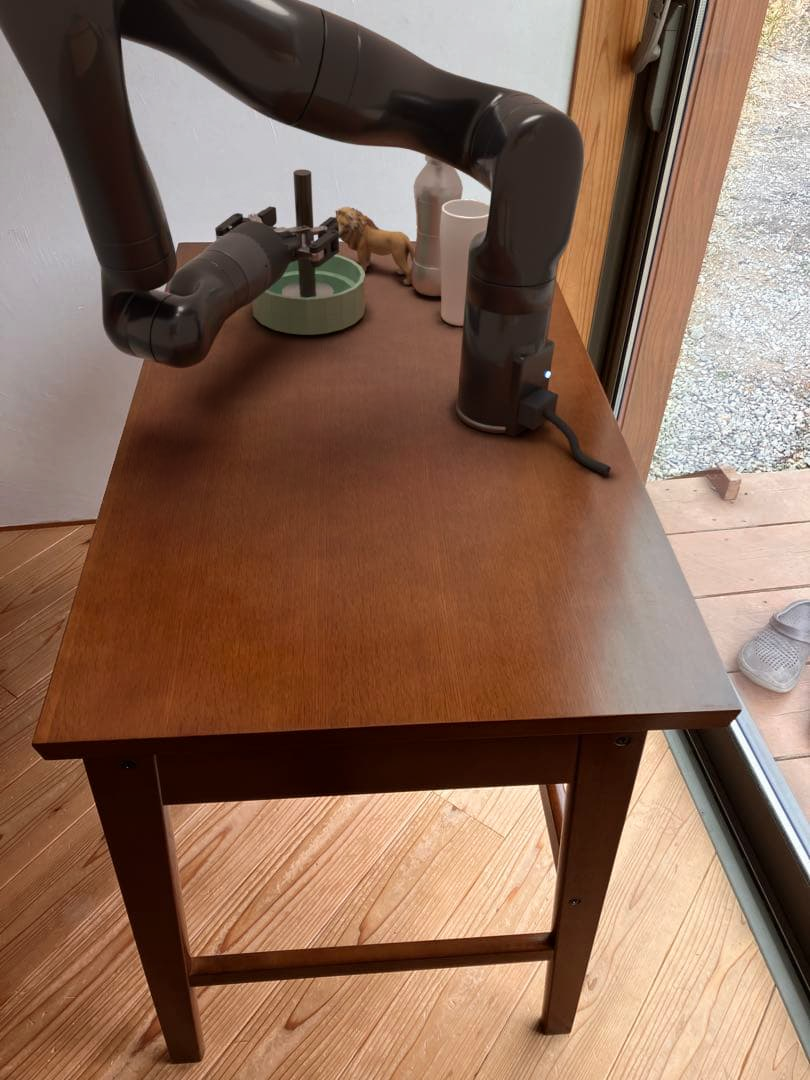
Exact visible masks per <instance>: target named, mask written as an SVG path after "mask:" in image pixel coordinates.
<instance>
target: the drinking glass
mask: <svg viewBox="0 0 810 1080" xmlns="http://www.w3.org/2000/svg"><path fill="white" fill-rule="evenodd" d="M489 208H490V203H487V202H485V201H482V200H477V199H471V198H469V199H468V198H466V199H465V198H461V199H458V200H452V201H449V202H446V203H445V204H444V205H443V206H442V210H441V219H440V273H441V296H440V299H441V300H440V303H441V304H440V317H441V318H442V320H443V321H444V322H445V323H447V324H449V325H452V326H458V327H463V321H464V308H465V295H466V283H467V270H468V255H469V246H470V243H471V240H472V239H473V237H474V236H475V235H477V234H478V233H480V232H482V231H484V230H486V229H487V222H488V215H489Z"/></svg>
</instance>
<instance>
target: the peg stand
mask: <svg viewBox="0 0 810 1080" xmlns="http://www.w3.org/2000/svg"><path fill="white" fill-rule="evenodd" d="M292 175H293V190H294V191H293V192H294V211H295V227H297V226H302V225H305V226H307V227H308V228H313V227H314V205H313V204H314V203H313V201H314V200H313V179H312V171H311V170H309V169H296V170H294V171H293V173H292ZM297 237H298V239H299V242H300V244H301V247H302V234H299V235H297ZM312 241H315V235H313V236H312ZM298 271H299V282H294V283H291V284H289V285H287V286H285V287H284V288H283V289H282V295H285V296H291V297H320V296H327V295H332V294H334V290H333V288H332V287H331V286H330V285H328V284H325V283H322V282H318V281H316V277H315V268H314V267H311V266H310V260H308V259H303V258H300V259H299V260H298Z"/></svg>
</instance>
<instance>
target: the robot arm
mask: <svg viewBox="0 0 810 1080" xmlns="http://www.w3.org/2000/svg"><path fill="white" fill-rule="evenodd" d="M0 32H1V33H2V35H3V36H4V39H5V40H6V42H7V44H8V46H9V48H10V50H11V52H12V54H13V55H14V57H15V59H16V61H17V64H19V66H20V68H21V70H22V72H23V74H24V76H25V77H26V79H27V81H28V83H29V85H30V87H31V89H32V91H33V92H34V94H35V97H36V98H37V100H38V102H39V105H40V107H41V108H42V110H43V113H44V115H45V117H46V119H47V122H48V124H49V126H50V129H51V130H52V132H53V135H54V137H55V140H56V142H57V145H58V147H59V149H60V152H61V155H62V157H63V160H64V163H65V166H66V169H67V172H68V175H69V178H70V181H71V184H72V188H73V190H74V194H75V197H76V201H77V203H78V206H79V210H80V213H81V216H82V219H83V221H84V225H85V228H86V231H87V234H88V237H89V239H90V242H91V246H92V248H93V251H94V253H95V256H96V259H97V261H98V264H99V267H100V268H99V269H100V287H101V291H100V292H101V311H102V312H101V318H102V319H101V320H102V326H103V331H104V333H105V335H106V337H107V339H108V341H109V342H110V343H111V344H112V345H113V346H114V347H115V348H116V349H117V350H118V351H120V352H121V353H123V354H125V355H127V356H130V357H135V358H137V359H142V360H146V361H148V362H153V363H157V364H160V365H164V366H166V367H170V368H175V369H187V368H191V367H193V366H196V365H198V364H200V363H202V362H203V361H204V360H205V359H206V358H207V356H208V355H209V353H210V351H211V349H212V347H213V345H214V342H215V340H216V338H217V336H218V335H219V333H220V332H221V329H222V328H223V326H224V324H225V322H226V320H229V318H230V317H231V316H233V315H234V314H235V313H237V312H238V311H240V309H242V308H243V307H246V306H248V305H249V304H251V302H252V301H254V300H255V299H256V298H257V297H259V296H260V295H261V294H262V293H264V292H265V291H266V290H267V289H269V288H270V287H271V286H272V285H273V284H275V283H276V282H277V281H278V280H279V279H281V277H282V276H283V275H284V273H285V271H286V269H287V267H288V265H289V263H291V262H294V261H297V260H299V259H300V258H303V259H308V260H310V266H311V267H314V268H316V267H319V266H321V265H322V264H324V263H325V262H326V261H328V260H329V259H330V258H332V257H333V256H334V255H338V253H340V238H339V222H337V218H335V217H336V216H329V217H328V218H327V219H325V221H323V222H322V223H320V224H319V225H318V226H313V228H308V227H307V226H305V225H302V226H297V227H296V226H292V227H284V226H281V227H277V226H276V224H277V222H278V221H277V220H278V216H277V208H276V206H271V205H270V206H268V207H267V208H265V209H262V210H260V211H259V212H258V213H251V214H248V216H247V217H244V215H243V214H242V213H239V212H237V213H233V214H232V215H230V216H229V217H228V218H227V219H225V220H224V221H223V222H221V223H220V224H218V225H217V226H216V227H215V228H214V231H215V241H213V242H211V243H210V244H209V245H207V247H206V248H205V249H204V250H203V251H202V252H201V253H199V254H198V255H197V256H195V257H193V258H192V259H191V260H189V261H188V262H186V263H185V264H183V265H182V266H181V267H180V268H179V269H177V267H178V258H177V253H176V247H175V243H174V241H173V237H172V236H173V235H172V233H171V228H170V224H169V222H168V217H167V214H166V210H165V207H164V206H165V205H164V203H163V200H162V196H161V193H160V189H159V187H158V184H157V181H156V179H155V175H154V173H153V170H152V168H151V166H150V163H149V160H148V158H147V156H146V153H145V151H144V148H143V146H142V143H141V140H140V137H139V134H138V132H137V127H136V124H135V121H134V118H133V113H132V108H131V104H130V99H129V94H128V89H127V83H126V73H125V66H124V65H125V63H124V55H123V46H122V45H123V44H122V40H125V41H128V42H132V43H135V44H138V45H140V46H143V47H147V48H150V49H152V50H155V51H157V52H160V53H162V54H164V55H166V56H169V57H170V58H173V59H175V60H177V61H178V62H180V63H182V64H184V65H186V66H187V67H188V68H190V69H192V70H193V71H195V72H196V73H197V74H199V75H200V76H202V77H204V78H205V79H206V80H208V81H209V82H210V83H213V85H215V86H216V87H218V88H219V89H221V90H222V91H224V92H225V93H227V94H228V95H230V96H231V97H232V98H234V99H235V100H238V101H239V102H241V103H242V104H244V105H245V106H247V107H248V108H251V109H252V110H253V111H255V112H256V113H259V114H260V115H262V116H265V117H266V118H268V119H271V120H272V121H274V122H278V123H279V124H282V125H284V126H288V127H291V128H293V129H295V130H300V131H303V132H306V133H309V134H312V135H314V136H317V137H320V138H324V139H325V140H326V139H327V140H330V141H334V142H337V143H342V144H346V145H347V144H348V145H355V146H363V147H374V148H376V147H378V148H394V149H404V150H409V151H412V152H416V153H419V154H422V155H424V156H425V155H427V156H429V157H432V158H434V159H436V160H439V161H441V162H443V163H445V164H447V165H449V166H451V167H454V168H455V170H457V171H460V172H461V173H463V174H465V175H467V176H469V177H471V178H472V179H473V180H475V181H476V182H477V183H479V184H480V185H481V186H483V187H484V188H485V189H486V190H488V191H489V192H490V201H489V205H490V208H489V215H488V222H487V229H486V230H484V231H482V232H480V233H478V234H477V235H475V236H474V237H473V239H472V240H471V243H470V246H469V255H468V270H467V283H466V295H465V308H464V321H463V326H462V333H461V334H462V335H461V349H460V358H459V359H460V361H459V373H458V387H457V399H456V405H455V413H456V415H457V416H458V418H459V419H460V420H461V421H462V422H463V423H464V424H466V425H468V426H469V427H471V428H474V429H476V430H479V431H482V432H487V433H492V434H505V435H508V436H510V437H516V436H518V435H519V434H520V433H522V432H523V431H525V430H526V429H528V428H529V429H531V430H534V431H535V429H537V428H539V427H540V426H541V425H543V424H544V423H546V422H547V421H549V423H551V424H552V425H554V426H555V428H557V429H558V430H559V431H560V432H561V433H562V434H563V435H564V436H565V438H566V440H567V441H568V444H569V448H570V451H571V454H572V455H573V457H574V458H575V459H576V460H577V461H578V462H579V463H580V464H582V465H583V466H585V467H587V468H588V469H591V470H593V471H596V472H599V473H601V474H603V475H604V476H607V475H609V473H610V472H611V468H612V467H611V466H610V465H608V464H606V463H603V462H601V461H598V460H596V459H594V458H591V457H589V456H588V455H587V454H585V452H583V450H582V448H581V445H580V441H579V439H578V437H577V434H576V433H575V432H574V430H573V429H572V427H571V426H570V425H569V424H568V423H566V421H564V420H563V419H562V418H561V417H560V416H558V415H557V414H556V412H557V411H556V409H557V403H558V397H559V394H558V393H557V392H555V391H552V390H549V383H550V377H551V370H552V364H553V357H554V352H555V351H554V350H555V342H554V341H553V340H551V339H550V338H549V332H550V331H549V330H550V325H551V324H550V323H551V317H552V311H553V310H552V309H553V303H554V296H555V289H556V282H557V275H558V270H559V269H558V268H559V264H560V260H561V258H562V257H563V255H564V253H565V251H566V250H567V248H568V246H569V243H570V239H571V236H572V232H573V226H574V222H575V217H576V211H577V206H578V202H579V196H580V192H581V191H580V190H581V185H582V180H583V173H584V165H585V145H584V139H583V135H582V133H581V130H580V128H579V126H578V124H577V123H576V122H575V121H574V119H572V117H570V116H569V115H568V114H566V113H565V112H563V111H562V110H559V108H557V107H555V106H553V105H551V104H550V103H548V102H546V101H544V100H543V99H541V98H539V97H537V96H535V95H533V94H531V93H528V92H524V91H520V90H517V89H512V88H507V87H503V86H499V85H496V84H491V83H487V82H484V81H483V82H482V81H479V80H476V79H472V78H469V77H465V76H462V75H459V74H455V73H452V72H450V71H448V70H444V69H442V68H440V67H437V66H435V65H433V64H431V63H430V62H429V61H428V62H427V61H426V60H424V59H423V58H421V57H420V56H418V55H416V53H413V52H412V51H410V50H408V49H407V48H405V47H403V46H402V45H400V44H398V43H396V42H394V41H393V40H391V39H389V38H387V37H385V36H384V35H381V34H380V33H377V32H375V31H373V30H372V29H370V28H367V27H366V26H364V25H362V24H359V23H357V22H355V21H352V20H351V19H348V18H346V17H343V16H341V15H338V14H336V13H333V12H331V11H328V10H326V9H324V8H321V7H319V6H317V5H314V4H311V3H308V2H305V1H302V0H0ZM299 234H302V247H301V244H300V242H299V239H298V237H297V235H299ZM313 235H314V236H317V239H316V240H314V241H312V236H313ZM167 284H168V287H167V288H168V290H167V292H166V291H164V290H159V289H160V288H162V287H163V286H165V285H167Z"/></svg>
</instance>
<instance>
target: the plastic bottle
mask: <svg viewBox="0 0 810 1080" xmlns="http://www.w3.org/2000/svg"><path fill="white" fill-rule="evenodd" d="M424 160H425V161H426V163H425V165H424V167H423V168H421V170H420V171H419V173H418V174H417V176H416V178H415V180H414V183H413V199H414V209H415V218H416V220H415V221H416V223H415V224H416V237H415V246H414V247H415V248H414V254H415V256H414V260H413V262H412V265H411V278H412V283H411V284H412V286H413V287H414V289H415V290H416V292H418V293H419V294H420V295H425V296H429V297H441V273H440V219H441V210H442V206H443V205H444V204H445V203H446V202H449V201H452V200H458V199H463V198H462V196H463V191H464V187H463V183H462V180H461V177H460V176H459V173H458V172H457V171H458V170H457V169H456V168H454V167H451V166H449V165H447V164H445V163H443V162H441V161H439V160H436V159H434V158H432V157H429V156H427V155H424Z"/></svg>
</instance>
